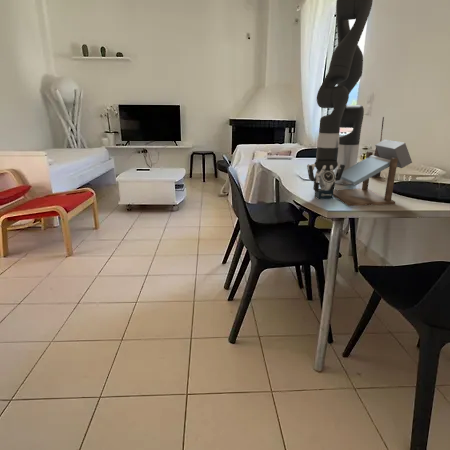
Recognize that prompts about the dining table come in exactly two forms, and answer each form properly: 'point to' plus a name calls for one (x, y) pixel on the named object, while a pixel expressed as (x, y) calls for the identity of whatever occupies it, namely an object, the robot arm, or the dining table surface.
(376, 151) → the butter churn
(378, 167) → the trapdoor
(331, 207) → the dining table surface
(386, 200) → the trapdoor frame
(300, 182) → the dining table surface
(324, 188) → the watch
